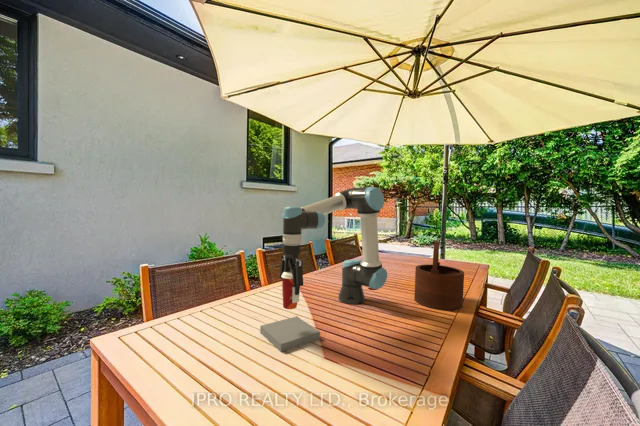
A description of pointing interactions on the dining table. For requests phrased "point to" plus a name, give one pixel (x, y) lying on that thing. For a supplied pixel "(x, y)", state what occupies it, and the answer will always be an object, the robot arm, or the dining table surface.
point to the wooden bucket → (439, 285)
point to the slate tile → (289, 333)
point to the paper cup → (288, 290)
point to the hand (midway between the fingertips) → (290, 299)
